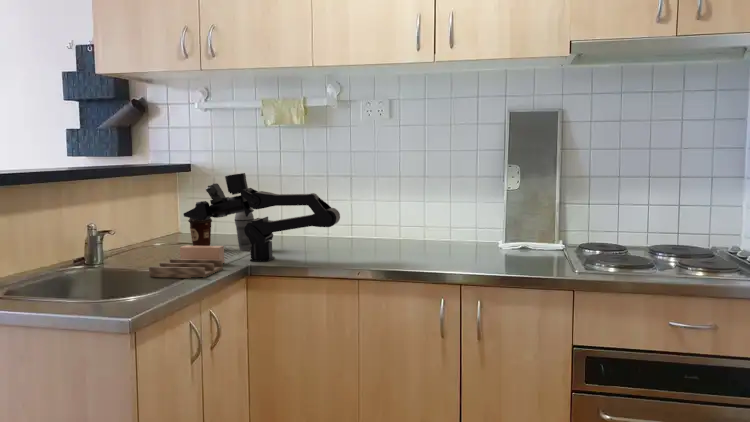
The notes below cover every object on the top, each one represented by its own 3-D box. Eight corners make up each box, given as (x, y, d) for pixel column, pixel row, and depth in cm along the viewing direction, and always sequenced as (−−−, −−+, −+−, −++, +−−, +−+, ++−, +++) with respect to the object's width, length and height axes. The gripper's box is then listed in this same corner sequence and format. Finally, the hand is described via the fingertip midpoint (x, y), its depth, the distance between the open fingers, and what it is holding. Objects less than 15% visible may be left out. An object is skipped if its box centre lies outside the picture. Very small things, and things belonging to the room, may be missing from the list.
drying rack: (222, 269, 192) (222, 259, 192) (204, 278, 180) (203, 268, 180) (171, 268, 196) (170, 259, 196) (149, 276, 184) (148, 267, 183)
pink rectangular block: (224, 263, 202) (223, 246, 202) (219, 265, 199) (218, 247, 198) (186, 262, 205) (185, 245, 204) (180, 265, 202) (179, 247, 201)
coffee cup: (192, 252, 224) (190, 217, 223) (187, 249, 231) (185, 215, 230) (216, 249, 229) (214, 215, 227) (210, 246, 236) (208, 213, 234)
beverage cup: (246, 247, 232) (243, 195, 229) (259, 249, 227) (257, 196, 225) (231, 250, 226) (228, 197, 223) (245, 252, 221) (242, 198, 219)
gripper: (237, 181, 214) (197, 190, 217) (215, 182, 196) (172, 191, 199) (244, 212, 215) (203, 220, 217) (222, 216, 196) (178, 225, 199)
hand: (190, 214), depth 208 cm, fingers open, 9 cm apart
